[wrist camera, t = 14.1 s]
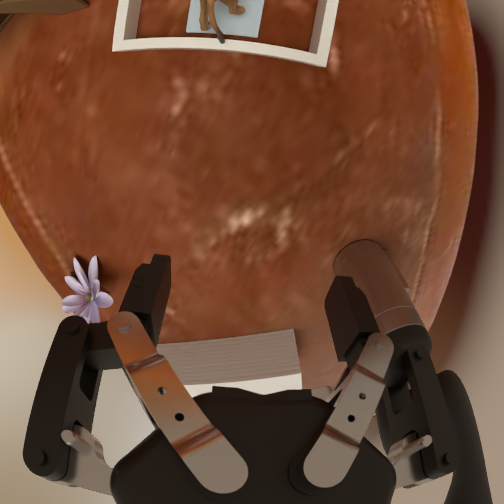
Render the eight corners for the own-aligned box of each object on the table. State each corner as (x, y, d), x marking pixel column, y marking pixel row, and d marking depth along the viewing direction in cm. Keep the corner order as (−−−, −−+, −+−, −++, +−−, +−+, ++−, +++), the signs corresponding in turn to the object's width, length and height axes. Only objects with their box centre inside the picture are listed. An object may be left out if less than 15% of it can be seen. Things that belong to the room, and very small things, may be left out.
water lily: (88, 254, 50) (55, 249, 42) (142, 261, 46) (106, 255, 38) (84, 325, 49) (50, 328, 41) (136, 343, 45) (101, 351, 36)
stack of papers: (167, 366, 65) (162, 404, 56) (149, 343, 58) (141, 385, 50) (295, 353, 63) (302, 394, 54) (293, 327, 56) (301, 373, 48)
